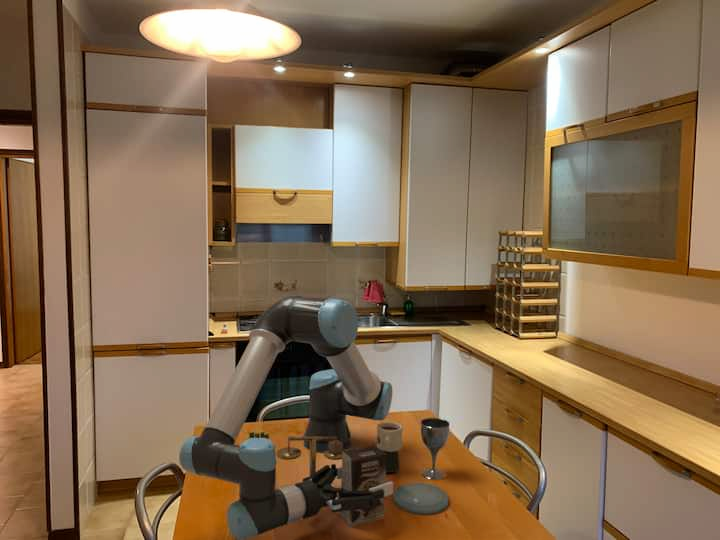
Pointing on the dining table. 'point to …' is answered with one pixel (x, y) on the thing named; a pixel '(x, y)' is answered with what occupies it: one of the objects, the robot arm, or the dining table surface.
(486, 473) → the dining table surface
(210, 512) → the dining table surface
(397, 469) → the character mug
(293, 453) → the balance
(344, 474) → the coffee box
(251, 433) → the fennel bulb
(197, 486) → the dining table surface
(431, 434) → the wine glass
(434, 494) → the dish
